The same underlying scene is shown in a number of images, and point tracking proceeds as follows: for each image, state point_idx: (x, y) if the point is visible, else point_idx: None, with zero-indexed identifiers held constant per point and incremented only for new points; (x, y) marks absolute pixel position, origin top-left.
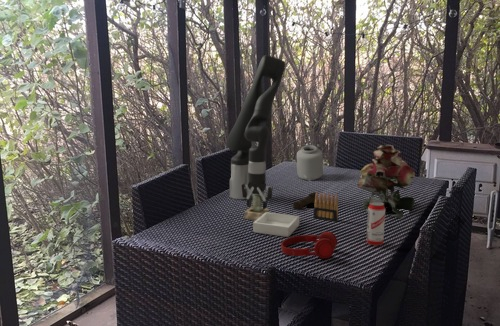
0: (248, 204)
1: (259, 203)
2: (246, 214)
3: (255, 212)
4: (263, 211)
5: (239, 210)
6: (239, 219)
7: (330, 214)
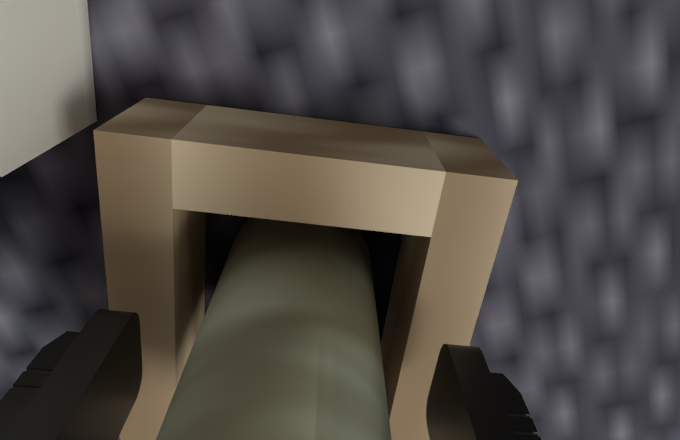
0: (481, 386)
1: (178, 406)
2: (459, 157)
3: (282, 210)
4: (154, 301)
5: (594, 434)
6: (560, 77)
7: None
